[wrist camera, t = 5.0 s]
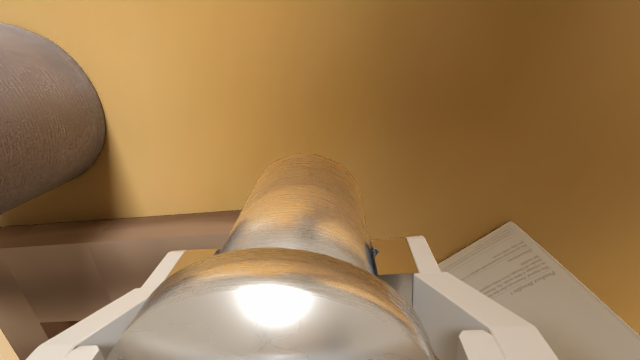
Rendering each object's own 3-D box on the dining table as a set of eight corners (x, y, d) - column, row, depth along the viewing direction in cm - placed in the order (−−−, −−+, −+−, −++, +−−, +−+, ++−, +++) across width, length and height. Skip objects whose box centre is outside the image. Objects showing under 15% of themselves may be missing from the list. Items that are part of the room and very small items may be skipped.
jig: (-2, 227, 23) (-110, 283, 17) (302, 205, 21) (292, 260, 16) (89, 395, 29) (33, 475, 24) (325, 387, 28) (324, 470, 22)
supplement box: (469, 331, 25) (590, 576, 13) (418, 270, 23) (509, 496, 11) (560, 286, 23) (793, 525, 12) (513, 215, 21) (740, 418, 9)
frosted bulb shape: (218, 139, 12) (36, 302, 5) (379, 126, 11) (464, 279, 4) (248, 267, 14) (161, 507, 7) (382, 260, 14) (439, 507, 7)
